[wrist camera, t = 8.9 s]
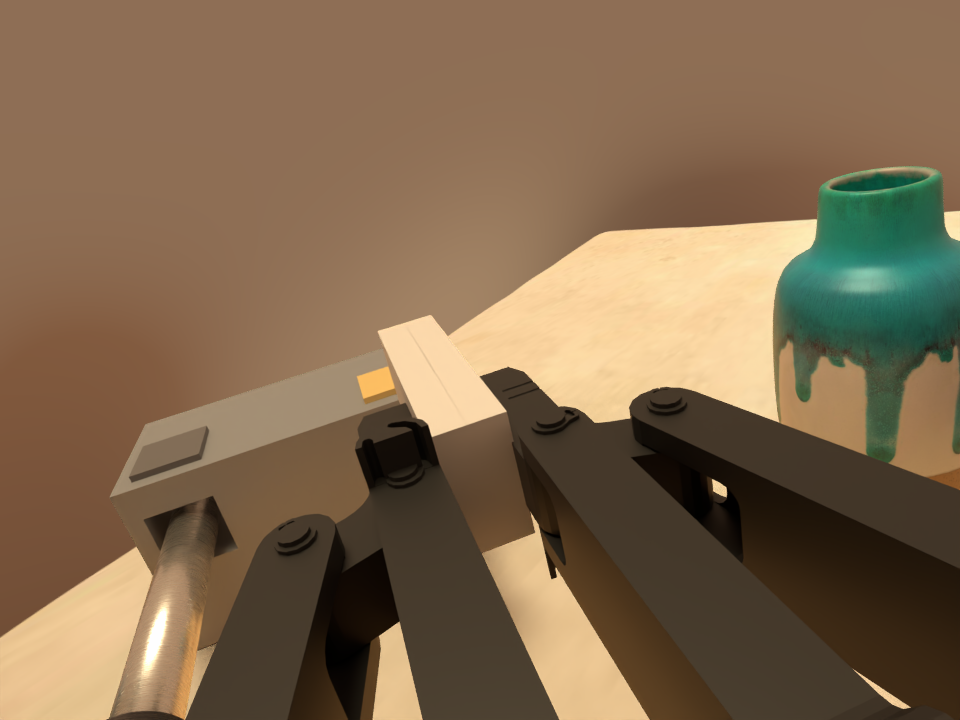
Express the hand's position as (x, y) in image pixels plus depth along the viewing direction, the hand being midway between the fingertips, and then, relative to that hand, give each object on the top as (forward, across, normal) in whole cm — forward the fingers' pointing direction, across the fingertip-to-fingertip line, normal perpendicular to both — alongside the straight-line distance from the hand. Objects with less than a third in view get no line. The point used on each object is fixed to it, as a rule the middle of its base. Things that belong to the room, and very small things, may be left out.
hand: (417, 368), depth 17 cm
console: (+24, -7, -22) cm, 33 cm away
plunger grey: (+13, -14, -16) cm, 25 cm away
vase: (+10, +26, -21) cm, 35 cm away
